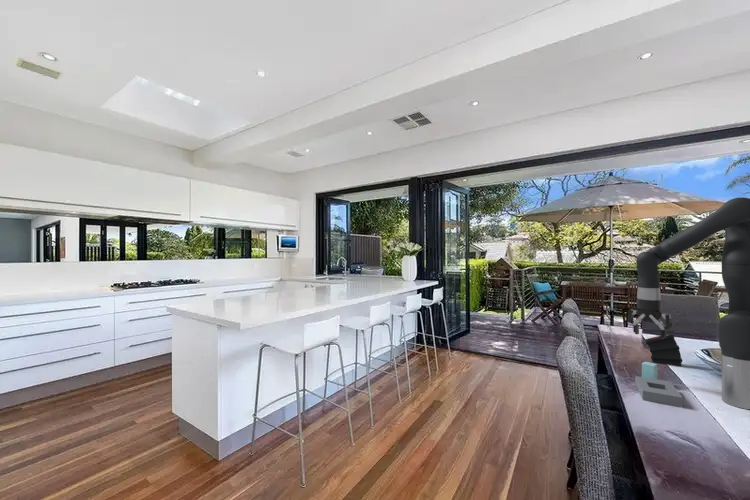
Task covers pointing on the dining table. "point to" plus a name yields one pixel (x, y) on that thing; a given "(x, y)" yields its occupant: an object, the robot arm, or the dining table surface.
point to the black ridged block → (664, 350)
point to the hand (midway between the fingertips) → (649, 336)
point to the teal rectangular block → (649, 370)
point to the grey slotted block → (658, 391)
